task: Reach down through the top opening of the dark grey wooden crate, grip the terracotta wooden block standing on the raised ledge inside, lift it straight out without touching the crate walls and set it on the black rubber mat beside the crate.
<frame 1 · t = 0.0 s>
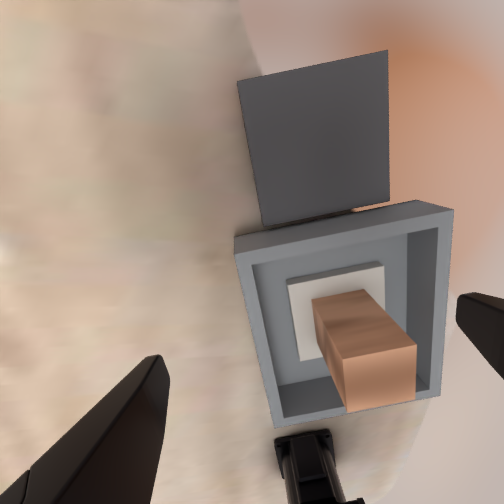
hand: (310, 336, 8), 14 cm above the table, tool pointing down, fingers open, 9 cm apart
mat: (317, 146, 20), on the table
crate: (333, 307, 25), on the table
block: (339, 316, 23), point 1 cm above the table, touching crate
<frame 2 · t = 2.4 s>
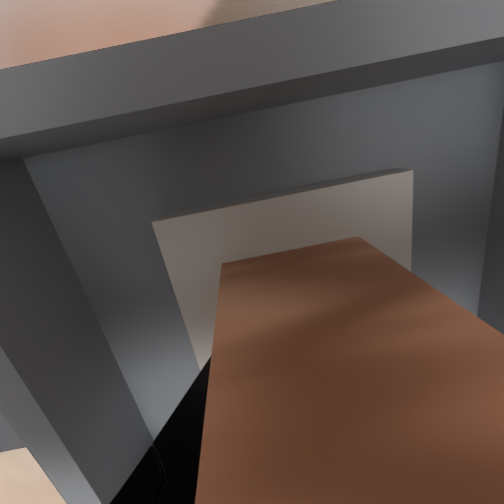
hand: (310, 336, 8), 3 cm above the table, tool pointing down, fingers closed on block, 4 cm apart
crate: (290, 288, 11), on the table
block: (298, 308, 10), point 1 cm above the table, touching crate, gripper
when the fingers open (4 cm above the table, at t = 6.5 s): block drops 1 cm, resting on mat.
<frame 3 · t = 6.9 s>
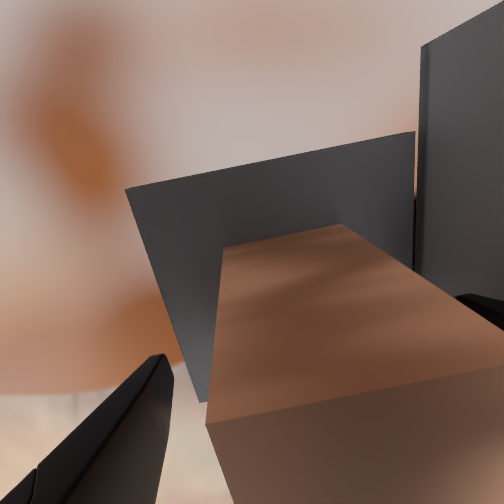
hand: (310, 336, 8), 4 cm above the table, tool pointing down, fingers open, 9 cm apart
mat: (287, 282, 11), on the table
block: (291, 288, 11), point 1 cm above the table, touching mat
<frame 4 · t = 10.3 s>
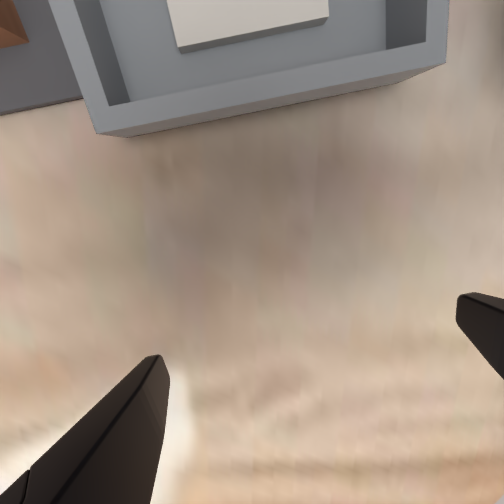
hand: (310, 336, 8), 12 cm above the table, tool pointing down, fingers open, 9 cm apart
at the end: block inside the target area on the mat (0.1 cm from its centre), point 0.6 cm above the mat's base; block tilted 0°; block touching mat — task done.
